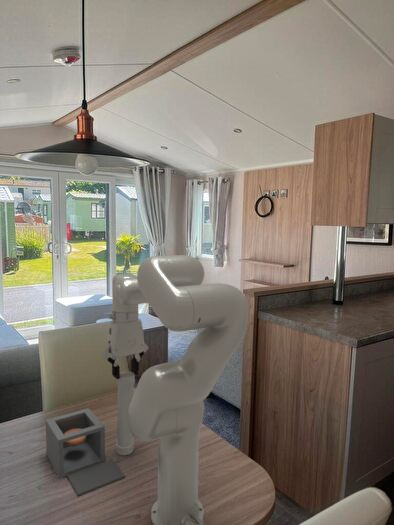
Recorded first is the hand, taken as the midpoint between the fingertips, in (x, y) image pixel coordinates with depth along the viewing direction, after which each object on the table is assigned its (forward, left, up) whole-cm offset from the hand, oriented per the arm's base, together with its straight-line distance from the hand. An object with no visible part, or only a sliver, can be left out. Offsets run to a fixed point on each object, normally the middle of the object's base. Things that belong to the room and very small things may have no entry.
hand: (125, 374), depth 115 cm
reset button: (+5, +14, -19) cm, 24 cm away
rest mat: (-7, +12, -24) cm, 28 cm away
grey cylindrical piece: (0, 0, -24) cm, 24 cm away
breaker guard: (+4, +14, -24) cm, 28 cm away
